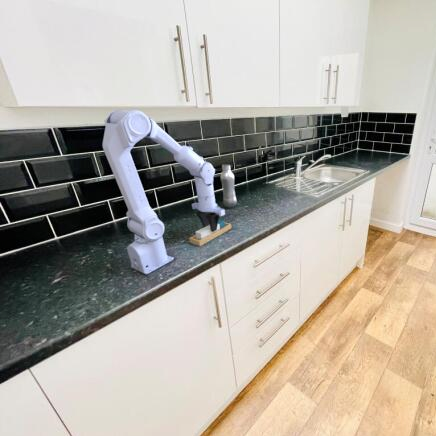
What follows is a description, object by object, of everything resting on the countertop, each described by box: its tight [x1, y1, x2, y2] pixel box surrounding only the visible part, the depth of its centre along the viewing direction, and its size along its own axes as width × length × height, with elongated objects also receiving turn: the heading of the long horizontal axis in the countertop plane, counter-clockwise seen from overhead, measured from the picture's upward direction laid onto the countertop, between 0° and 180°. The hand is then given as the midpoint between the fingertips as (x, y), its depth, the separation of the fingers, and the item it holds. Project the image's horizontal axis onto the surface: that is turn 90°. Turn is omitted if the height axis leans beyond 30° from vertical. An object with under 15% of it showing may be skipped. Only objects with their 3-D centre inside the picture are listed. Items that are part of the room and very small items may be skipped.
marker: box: [194, 219, 226, 240], centre depth 96 cm, size 12×3×3 cm, turn 150°
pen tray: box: [188, 221, 233, 247], centre depth 96 cm, size 16×5×2 cm, turn 150°
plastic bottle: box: [220, 163, 238, 208], centre depth 120 cm, size 6×7×20 cm
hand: (211, 229), depth 96 cm, fingers closed on marker, 3 cm apart
